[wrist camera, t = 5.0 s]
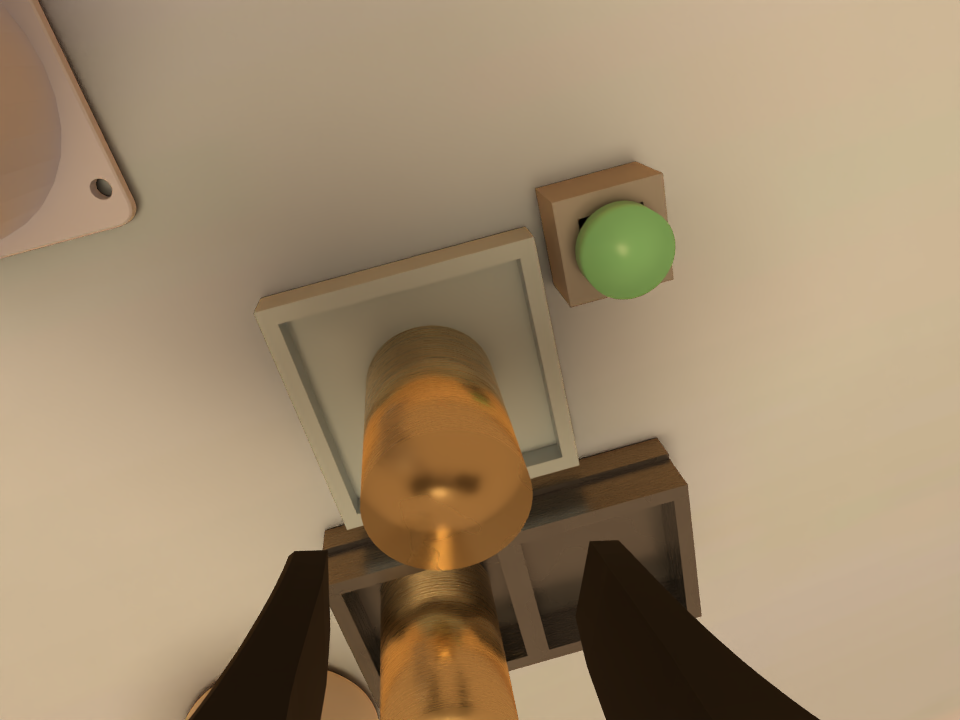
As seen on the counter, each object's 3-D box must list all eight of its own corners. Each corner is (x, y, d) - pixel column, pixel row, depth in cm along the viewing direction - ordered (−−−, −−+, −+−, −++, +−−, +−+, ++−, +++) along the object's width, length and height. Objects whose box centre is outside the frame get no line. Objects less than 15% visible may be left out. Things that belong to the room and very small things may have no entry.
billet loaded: (365, 568, 22) (360, 732, 17) (476, 538, 22) (506, 691, 17) (398, 645, 24) (403, 815, 19) (501, 616, 24) (535, 777, 19)
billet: (348, 345, 19) (335, 458, 14) (477, 310, 19) (513, 409, 14) (387, 451, 21) (389, 588, 16) (505, 419, 21) (546, 544, 16)
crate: (325, 530, 22) (318, 582, 20) (657, 438, 23) (686, 479, 21) (380, 653, 25) (380, 711, 23) (674, 570, 26) (701, 620, 23)
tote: (260, 298, 19) (253, 312, 18) (525, 226, 19) (534, 236, 18) (348, 507, 22) (346, 530, 21) (570, 445, 22) (579, 465, 21)
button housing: (535, 188, 18) (551, 203, 17) (635, 161, 18) (662, 173, 17) (553, 284, 20) (570, 307, 18) (647, 258, 20) (673, 279, 18)
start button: (550, 198, 18) (576, 221, 16) (630, 176, 18) (670, 196, 16) (564, 276, 19) (591, 309, 17) (640, 255, 19) (679, 285, 17)
